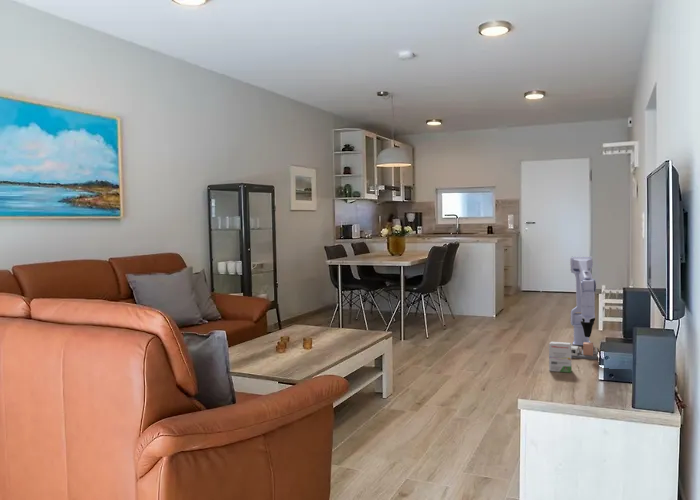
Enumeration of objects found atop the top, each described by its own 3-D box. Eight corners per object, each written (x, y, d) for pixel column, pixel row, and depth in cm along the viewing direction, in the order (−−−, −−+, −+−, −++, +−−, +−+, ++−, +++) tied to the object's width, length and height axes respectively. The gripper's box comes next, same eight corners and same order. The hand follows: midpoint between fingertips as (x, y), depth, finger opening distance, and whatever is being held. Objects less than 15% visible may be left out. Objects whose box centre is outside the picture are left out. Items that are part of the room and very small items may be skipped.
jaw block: (583, 352, 269) (583, 342, 269) (593, 353, 267) (593, 342, 267) (583, 354, 266) (583, 343, 265) (592, 355, 264) (592, 344, 264)
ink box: (571, 370, 244) (571, 342, 243) (570, 373, 239) (570, 344, 239) (550, 368, 247) (550, 340, 247) (549, 371, 243) (548, 343, 242)
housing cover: (566, 351, 272) (566, 345, 272) (578, 352, 270) (578, 345, 270) (565, 354, 267) (565, 347, 267) (577, 355, 265) (577, 348, 265)
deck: (566, 350, 279) (566, 342, 278) (598, 352, 273) (598, 344, 272) (563, 357, 266) (563, 348, 266) (597, 359, 260) (597, 350, 260)
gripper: (579, 303, 275) (579, 331, 276) (577, 308, 262) (577, 337, 263) (596, 303, 272) (596, 332, 273) (594, 308, 259) (594, 338, 260)
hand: (588, 335), depth 268 cm, fingers open, 7 cm apart
